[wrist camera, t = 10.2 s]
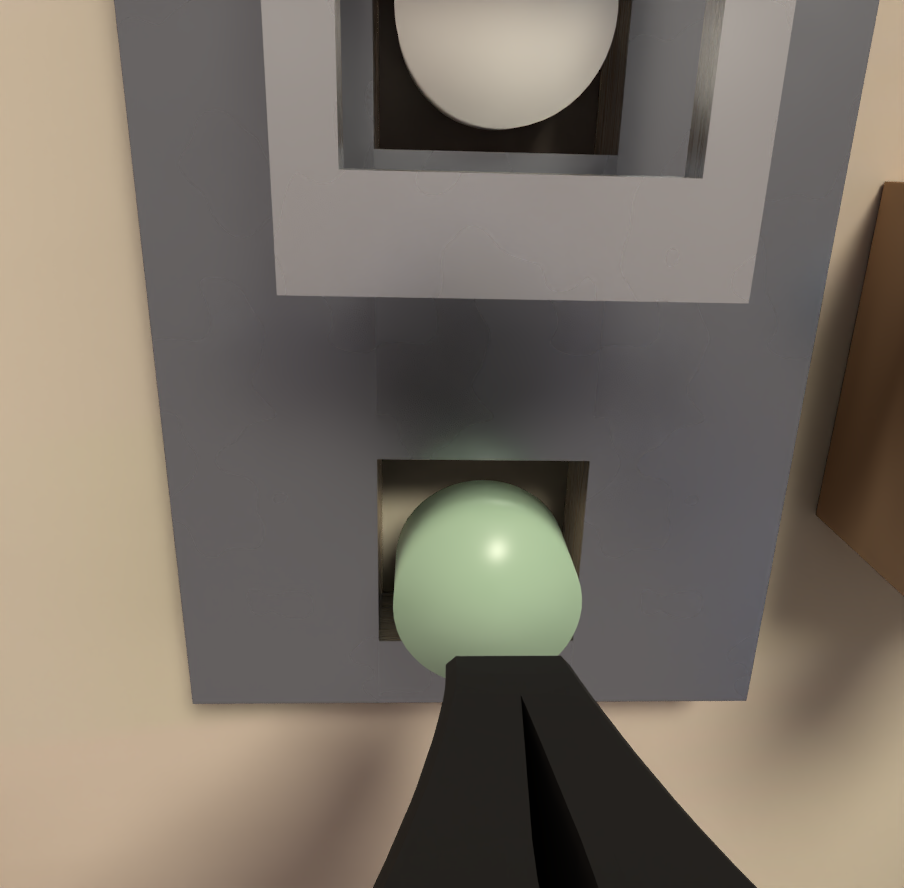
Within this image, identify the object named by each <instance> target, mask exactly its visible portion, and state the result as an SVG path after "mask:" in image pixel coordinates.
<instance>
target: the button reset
mask: <svg viewBox="0 0 904 888" xmlns="http://www.w3.org/2000/svg"><path fill="white" fill-rule="evenodd" d="M394 7H395V21H396V27H397V32H398V38H399V43H400V48H401V52H402V56H403V59H404V62H405V65H406V67H407V69H408V72H409V74H410V76H411V78H412V80H413V81H414V83H415V85H416V86H417V88H418V89H419V91H420V92H421V93H422V94H423V96H424V97H425V98H426V99H427V100H428V101H429V102H430V103H431V104H432V105H433V106H434V107H435V108H436V109H437V110H439V111H440V112H441V113H443V114H444V115H445V116H447V117H449V118H450V119H452V120H454V121H456V122H458V123H461V124H463V125H466V126H469V127H473V128H477V129H483V130H506V129H511V128H517V127H521V126H526V125H530V124H533V123H536V122H539V121H542V120H545V119H547V118H549V117H551V116H553V115H555V114H556V113H558V112H559V111H561V110H562V109H564V108H565V107H567V106H568V105H569V104H571V103H572V102H573V101H574V100H575V99H576V98H577V97H579V96H580V95H581V93H582V92H583V91H584V90H585V89H586V88H587V87H588V86H589V84H590V83H591V82H592V80H593V79H594V77H595V76H596V74H597V73H598V71H599V70H600V68H601V66H602V64H603V62H604V60H605V58H606V56H607V53H608V51H609V48H610V46H611V43H612V39H613V36H614V32H615V28H616V22H617V15H618V0H394Z"/></svg>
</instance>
